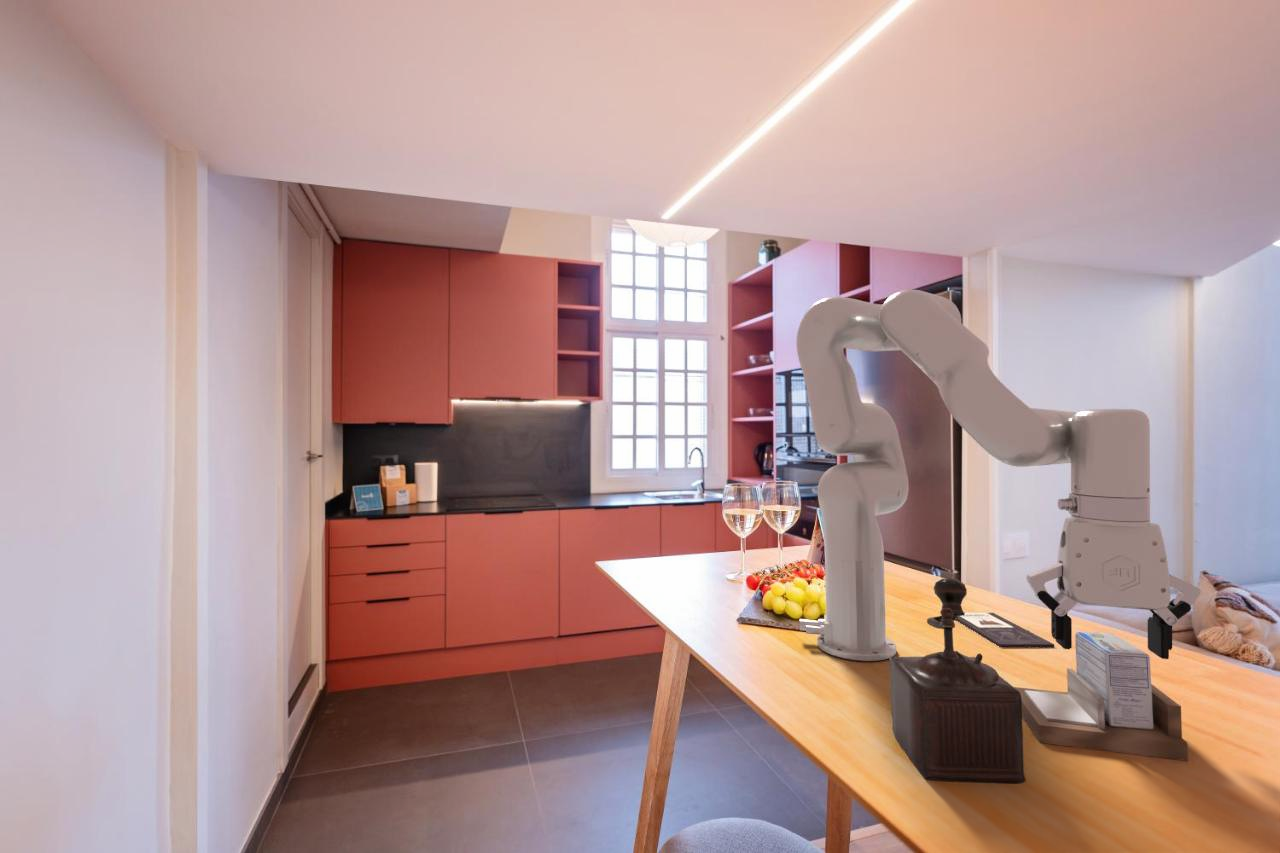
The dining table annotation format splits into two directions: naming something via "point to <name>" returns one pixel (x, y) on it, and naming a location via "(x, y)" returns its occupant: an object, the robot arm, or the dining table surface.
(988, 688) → the brown coffee grinder
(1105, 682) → the medicine box
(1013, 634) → the chocolate bar
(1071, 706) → the brown holder stand
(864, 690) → the dining table surface
